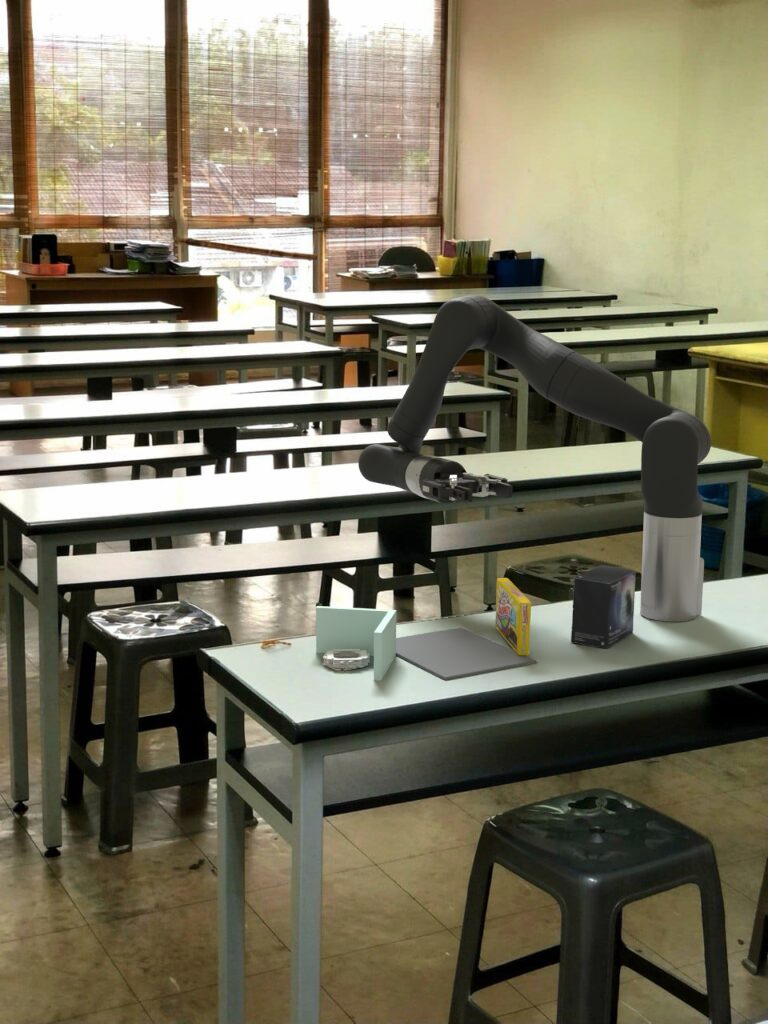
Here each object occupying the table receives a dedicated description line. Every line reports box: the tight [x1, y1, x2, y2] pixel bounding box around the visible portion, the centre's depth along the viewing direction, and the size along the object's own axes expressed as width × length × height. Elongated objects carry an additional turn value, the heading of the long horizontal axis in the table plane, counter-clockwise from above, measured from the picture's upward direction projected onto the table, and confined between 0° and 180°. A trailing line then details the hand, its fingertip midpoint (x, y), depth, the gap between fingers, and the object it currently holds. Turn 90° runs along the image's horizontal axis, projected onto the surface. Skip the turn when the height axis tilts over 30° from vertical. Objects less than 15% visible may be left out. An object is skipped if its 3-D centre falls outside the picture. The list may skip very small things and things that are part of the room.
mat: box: [395, 627, 538, 681], centre depth 199 cm, size 16×20×1 cm
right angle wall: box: [315, 605, 397, 682], centre depth 192 cm, size 12×12×8 cm
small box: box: [570, 564, 637, 649], centre depth 206 cm, size 11×6×10 cm, turn 147°
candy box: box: [495, 577, 532, 656], centre depth 203 cm, size 16×2×8 cm, turn 7°
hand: (490, 494), depth 217 cm, fingers open, 7 cm apart
